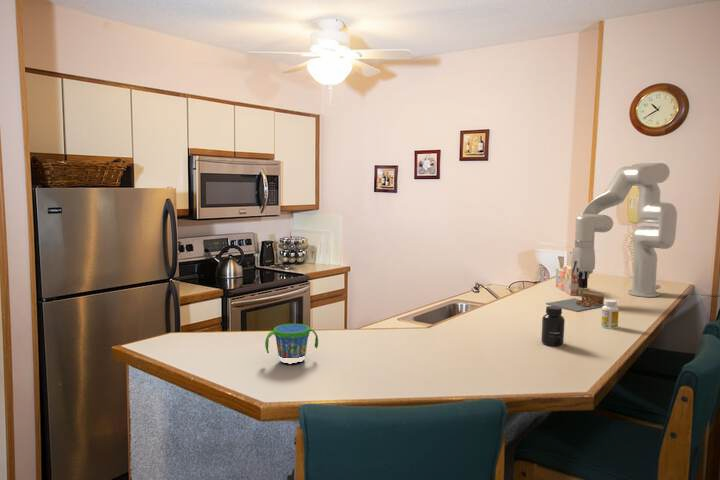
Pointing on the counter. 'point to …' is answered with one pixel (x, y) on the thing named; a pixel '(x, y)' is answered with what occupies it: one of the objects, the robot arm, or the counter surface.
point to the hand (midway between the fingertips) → (582, 287)
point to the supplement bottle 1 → (553, 326)
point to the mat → (573, 305)
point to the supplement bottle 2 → (610, 315)
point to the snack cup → (291, 340)
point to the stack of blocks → (568, 281)
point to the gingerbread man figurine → (590, 299)
